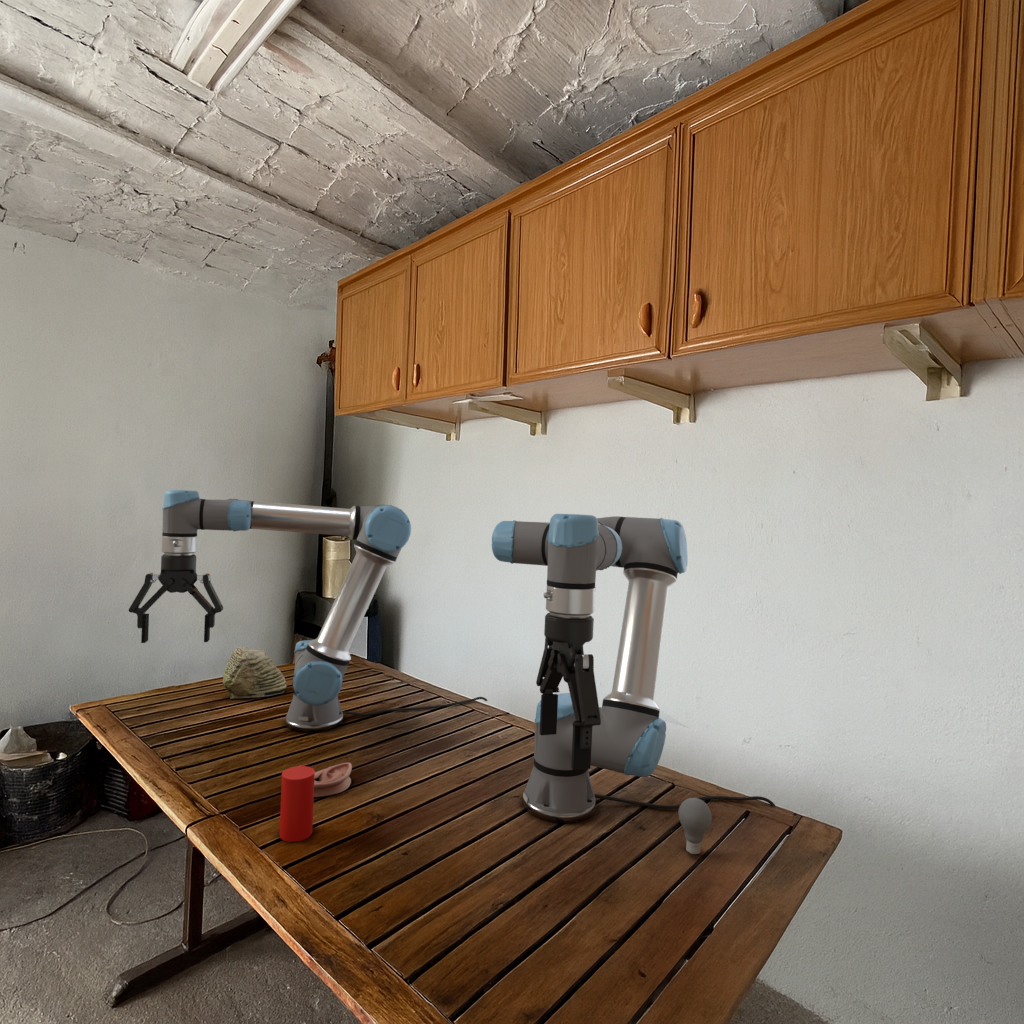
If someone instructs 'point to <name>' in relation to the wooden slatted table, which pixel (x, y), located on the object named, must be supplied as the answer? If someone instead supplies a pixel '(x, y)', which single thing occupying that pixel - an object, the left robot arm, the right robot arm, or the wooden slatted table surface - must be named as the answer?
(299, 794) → the red cylinder
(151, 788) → the wooden slatted table surface
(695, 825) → the light bulb
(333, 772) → the anatomical model
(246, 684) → the fossil
